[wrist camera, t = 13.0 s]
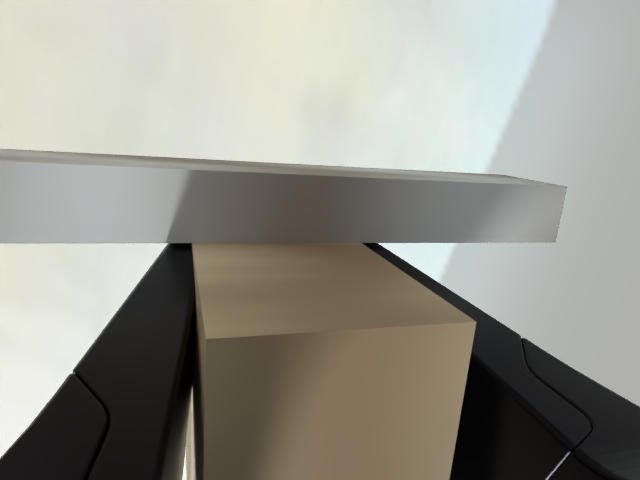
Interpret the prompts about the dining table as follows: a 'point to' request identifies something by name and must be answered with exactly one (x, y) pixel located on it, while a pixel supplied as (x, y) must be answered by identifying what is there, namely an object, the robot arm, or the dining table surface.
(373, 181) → the scraper
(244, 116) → the dining table surface
